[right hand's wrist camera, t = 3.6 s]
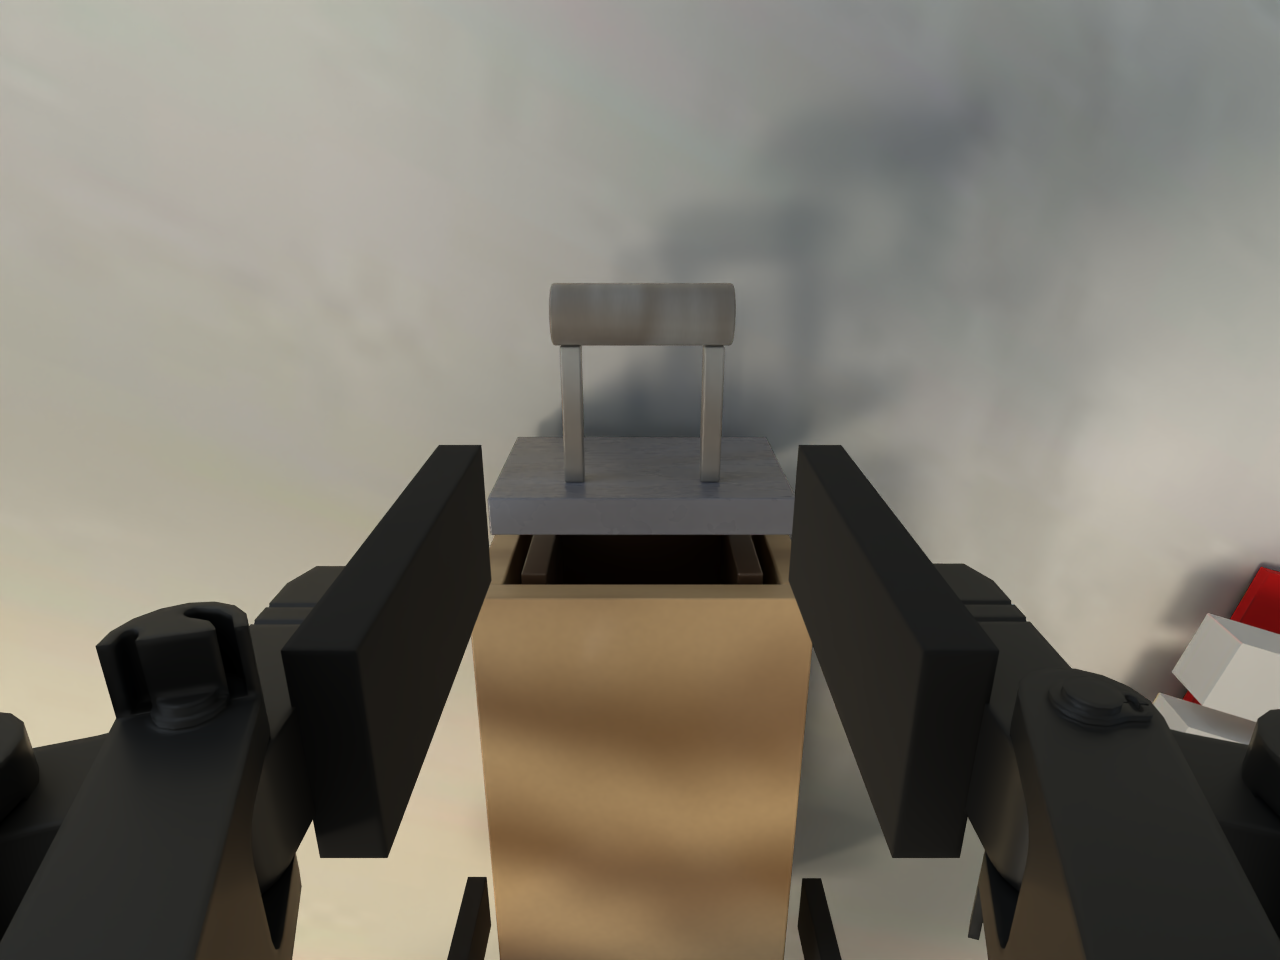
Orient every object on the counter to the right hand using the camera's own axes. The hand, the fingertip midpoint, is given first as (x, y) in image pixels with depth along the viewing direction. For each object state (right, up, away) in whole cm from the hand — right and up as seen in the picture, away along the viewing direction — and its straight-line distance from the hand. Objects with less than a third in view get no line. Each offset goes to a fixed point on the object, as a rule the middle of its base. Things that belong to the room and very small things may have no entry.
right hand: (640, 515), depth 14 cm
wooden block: (0, -9, +20) cm, 22 cm away
